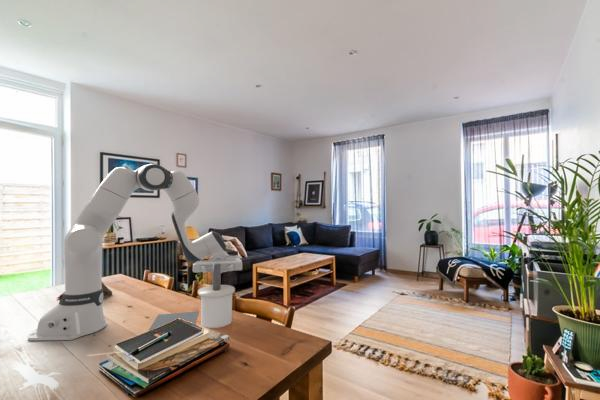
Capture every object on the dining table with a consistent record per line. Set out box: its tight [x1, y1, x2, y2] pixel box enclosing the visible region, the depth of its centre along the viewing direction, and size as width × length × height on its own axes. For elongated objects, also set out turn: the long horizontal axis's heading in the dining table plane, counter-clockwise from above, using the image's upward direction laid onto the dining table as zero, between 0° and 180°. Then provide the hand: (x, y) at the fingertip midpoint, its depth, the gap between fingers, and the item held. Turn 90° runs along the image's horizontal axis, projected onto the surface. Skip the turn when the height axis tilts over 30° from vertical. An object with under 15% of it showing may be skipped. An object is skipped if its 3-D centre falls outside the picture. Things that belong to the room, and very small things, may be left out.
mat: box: [147, 310, 199, 332], centre depth 118 cm, size 16×16×1 cm
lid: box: [197, 263, 236, 298], centre depth 117 cm, size 14×14×11 cm
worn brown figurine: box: [102, 281, 113, 299], centre depth 146 cm, size 12×6×18 cm, turn 153°
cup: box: [200, 294, 233, 329], centre depth 117 cm, size 12×12×12 cm
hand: (217, 269), depth 119 cm, fingers open, 8 cm apart
